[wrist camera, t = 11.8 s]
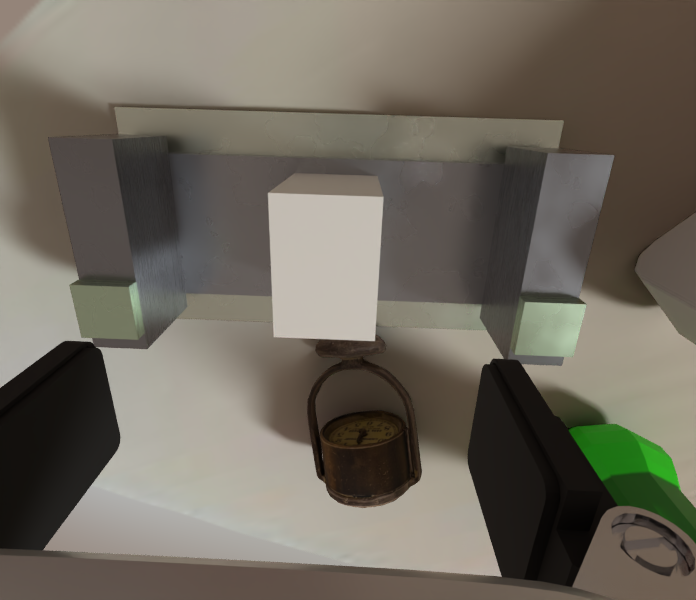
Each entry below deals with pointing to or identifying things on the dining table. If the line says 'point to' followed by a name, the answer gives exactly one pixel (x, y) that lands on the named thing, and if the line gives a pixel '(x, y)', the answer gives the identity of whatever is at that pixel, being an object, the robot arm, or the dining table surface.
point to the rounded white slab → (673, 275)
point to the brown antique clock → (364, 437)
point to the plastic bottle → (636, 473)
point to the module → (325, 256)
